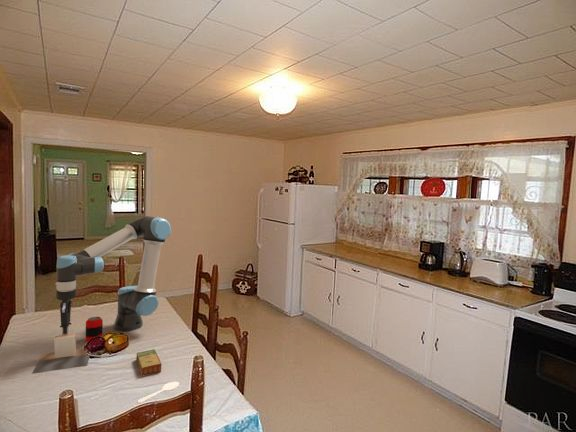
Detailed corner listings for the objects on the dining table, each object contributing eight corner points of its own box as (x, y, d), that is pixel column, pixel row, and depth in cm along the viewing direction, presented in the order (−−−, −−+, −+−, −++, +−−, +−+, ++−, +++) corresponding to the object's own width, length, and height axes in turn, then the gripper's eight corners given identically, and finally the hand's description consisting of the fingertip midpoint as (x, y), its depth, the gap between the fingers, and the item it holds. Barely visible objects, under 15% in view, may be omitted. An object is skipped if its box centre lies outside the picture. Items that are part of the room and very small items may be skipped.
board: (91, 350, 166) (91, 348, 166) (87, 368, 150) (87, 365, 150) (42, 356, 158) (42, 354, 158) (31, 376, 142) (31, 373, 142)
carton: (141, 377, 146) (141, 367, 146) (135, 360, 159) (136, 351, 159) (161, 372, 150) (161, 363, 150) (154, 356, 164) (154, 348, 164)
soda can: (104, 341, 176) (104, 318, 176) (88, 345, 171) (88, 322, 170) (99, 336, 182) (99, 314, 181) (83, 340, 176) (83, 318, 175)
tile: (76, 352, 160) (75, 333, 158) (75, 355, 158) (75, 336, 156) (55, 355, 157) (55, 335, 155) (54, 358, 155) (54, 338, 153)
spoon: (134, 400, 130) (134, 398, 130) (174, 380, 144) (174, 379, 144) (141, 406, 126) (141, 404, 126) (182, 385, 141) (182, 384, 141)
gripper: (59, 286, 161) (58, 335, 162) (53, 294, 149) (52, 346, 150) (78, 285, 164) (77, 333, 165) (73, 293, 152) (72, 344, 153)
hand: (65, 339), depth 158 cm, fingers closed
